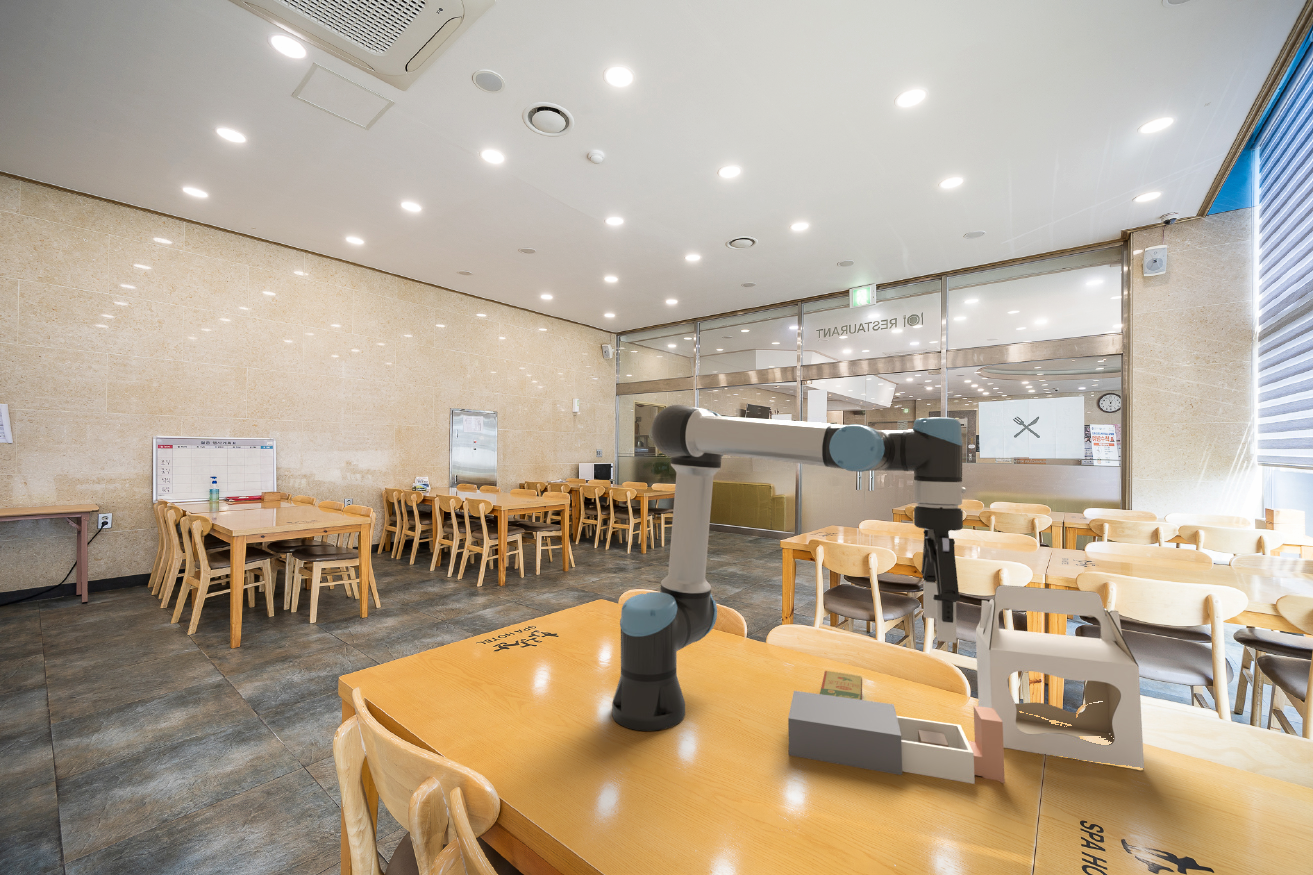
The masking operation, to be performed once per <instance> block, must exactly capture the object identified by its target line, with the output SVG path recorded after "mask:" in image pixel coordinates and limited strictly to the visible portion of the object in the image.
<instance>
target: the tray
mask: <svg viewBox="0 0 1313 875" xmlns="http://www.w3.org/2000/svg"><path fill="white" fill-rule="evenodd" d="M897 720H898V724H899V728H900V733H901V747H902V773H904V772H905V773H911V774H916V775H921V776H927V777H933V778H939V779H944V780H950V781H956V782H962V783H967V784H972V785H975V782H976V780H975V776H980V777H982V778H983V779H986V780H992V781H999V783H1000V784H1001V783H1002V784H1005V783H1006V778H1005V776H1006V775H1005V754H1004V753H1005V750H1004V749H1005V748H1004V747H1003V722H1002V720H1001V719H1000V717H999V716H998V714H997V713H996V711H995V709H994V708H987V707H979V705H978V706H977V705H973V726H974V730H973V732H974V741H971V740H968V738H967V737H966V734H965V732H964V730H963V728H962V725H961V724H957V723H956V724H955V723H950V722H941V721H934V720H928V719H921V718H916V717H915V718H914V717H907V716H899V715H897ZM918 730H922V731H929V732H936V733H942V734H944V736H945V738H946V741H947V743H948V747H944V746H937V745H931V744H924V743H918Z"/></svg>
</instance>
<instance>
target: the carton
mask: <svg viewBox="0 0 1313 875" xmlns="http://www.w3.org/2000/svg"><path fill="white" fill-rule="evenodd" d="M819 694H822V695H829V696H836V697H844V698H851V699H858V700H863V676H861V675H858V674H857V675H856V674H851V673H845V672H838V671H837V672H836V671H830V670H825V671H824V673H823V679H822V683H821V687H820V691H819Z"/></svg>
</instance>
